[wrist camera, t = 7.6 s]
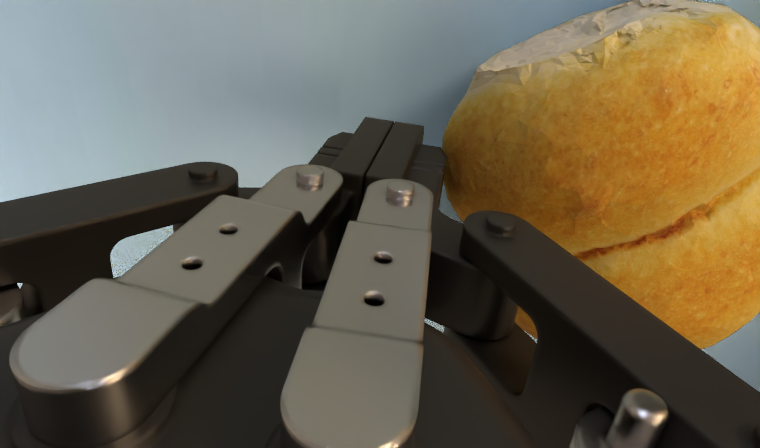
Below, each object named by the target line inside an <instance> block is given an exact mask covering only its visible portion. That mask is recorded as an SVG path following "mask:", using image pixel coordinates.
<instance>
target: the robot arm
mask: <svg viewBox="0 0 760 448" xmlns="http://www.w3.org/2000/svg"><path fill="white" fill-rule="evenodd" d="M423 134H424V126H421V125H415V124H408V123H402V122H395V123H394V121H388V120H382V119H375V118H369V117H365V118H364V120H363V121H362V123H361V124H360V126H359V127H358V128H357V130H356V131H355V133H354V134H352V133H346V132H341V133H339V134H337V135H334V136H332V137H330V138H328V140H327V141H326V142H325V143H324V145H323V147H321V148H320V150H319V151H318V153H317V154H316V155H315V156H314V157H313V158H312V160H311V161H310V162H309V163H308V164H303V165H294V166H290V167H287V168H285V169H282V170H281V171H280V172H279V173H277V174H276V175H275V176H274V177H273V178H272V179H271V180H270V181H269V182H267V183H266V184H265V185H264V186H263V187H262V188H240V187H238V173H237V171H236V170H235V169H234V168H232V167H230V166H228V165H225V164H221V163H215V162H194V163H188V164H183V165H179V166H174V167H169V168H164V169H159V170H154V171H150V172H145V173H140V174H135V175H130V176H126V177H121V178H116V179H111V180H106V181H102V182H97V183H92V184H87V185H82V186H78V187H73V188H68V189H63V190H58V191H53V192H49V193H44V194H39V195H34V196H29V197H25V198H20V199H15V200H10V201H5V202H1V203H0V448H760V393H759V392H758V391H757V390H755V389H754V388H752V387H751V386H750V385H748V384H747V383H746V382H744V381H743V380H742V379H740V378H739V377H738V376H736V375H735V374H733V373H732V372H731V371H729V370H728V369H727V368H725V367H724V366H723V365H721V364H720V363H719V362H717V361H716V360H714V359H713V358H712V357H710V356H709V355H708V354H706V353H705V352H704V351H702V350H701V349H700V348H698V347H697V346H695V345H694V344H693V343H691V342H690V341H689V340H687V339H686V338H685V337H683V336H682V335H681V334H679V333H678V332H676V331H675V330H674V329H672V328H671V327H670V326H668V325H667V324H666V323H664V322H663V321H662V320H660V319H659V318H657V317H656V316H655V315H653V314H652V313H651V312H649V311H648V310H647V309H645V308H644V307H643V306H641V305H640V304H638V303H637V302H636V301H634V300H633V299H632V298H630V297H629V296H628V295H626V294H625V293H624V292H622V291H621V290H619V289H618V288H617V287H615V286H614V285H613V284H611V283H610V282H609V281H607V280H606V279H605V278H603V277H602V276H600V275H599V274H598V273H596V272H595V271H594V270H592V269H591V268H590V267H588V266H587V265H586V264H584V263H583V262H581V261H580V260H579V259H577V258H576V257H575V256H573V255H572V254H571V253H569V252H568V251H567V250H565V249H564V248H562V247H561V246H560V245H558V244H557V243H556V242H554V241H553V240H552V239H550V238H549V237H548V236H546V235H545V234H543V233H542V232H541V231H539V230H538V229H537V228H535V227H534V226H533V225H531V224H530V223H529V222H527V221H525V220H524V219H522V218H520V217H518V216H515V215H512V214H509V213H505V212H500V211H478V212H474V213H472V214H470V215H468V216H467V217H466V218H465V220H464V224H462V223H459V222H457V221H454V220H452V219H450V218H448V217H447V216H445V215H444V214H443V213H441V212H440V211H439V204H440V198H441V192H442V186H443V179H444V173H445V167H446V160H447V156H446V154H445V153H444V151H443V150H442V149H441V147H434V146H428V145H422V142H423ZM170 225H173V231H174V233H173V234H172V235H171V236H169V237H168V238H167V239H166V240H164V241H163V242H162V243H161V244H160V245H158V246H157V247H156V248H155V249H153V250H152V251H151V252H150V253H149V254H147V255H146V256H145V257H144V258H142V259H141V260H140V261H139V262H138V263H136V264H135V265H134V266H133V267H131V268H130V269H129V270H128V271H127V272H125V273H124V274H123V275H122V276H119V277H116V278H113V274H112V268H111V262H110V253H111V251H112V249H113V247H114V246H115V245H116V244H117V243H118V242H119V241H120V240H122V239H124V238H126V237H129V236H133V235H137V234H140V233H144V232H148V231H152V230H155V229H159V228H163V227H166V226H170ZM17 283H23V284H22V286H21V288H20V289H19V287H18V285H17ZM518 307H520V308H521V309H522V310H523V311H524V312H526V313H527V314H528V315H529V316H530V318H531V319H532V321H533V323H534V325H535V327H536V330H537V337H538V340H537V343H536V342H535V341H534V340H533V339H532V338H531V337H530V336H529V335H528V334H527V333H526V332H524V331H523V330H522V329H521V328H520V327H519V326H518V325H517V324H516V323H515V318H516V315H517V311H518ZM425 318H427V319H429V320H431V321H434V322H436V323H438V324H440V325H443V326H445V327H444V333H442V332H440V331H439V330H437V329H436V328H434V327H432V326H430V325H428V324H426V323H424V320H425Z"/></svg>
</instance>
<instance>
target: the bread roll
mask: <svg viewBox="0 0 760 448" xmlns="http://www.w3.org/2000/svg"><path fill="white" fill-rule="evenodd" d="M442 150H443V151H444V153H445V154H446V156H447V160H446V167H445V173H444V179H443V182H444V186H445V190H446V194H447V198H448V199H449V201H450V203H451V205H452V207H453V209H454V210H455V212H456V213H457V215H458V216H459V218H460V219H461V220H462V221H463V222H464V220H465V218H466V217H467V216H468V215H470V214H472V213H474V212H478V211H500V212H505V213H509V214H512V215H515V216H518V217H520V218H522V219H524V220H525V221H527V222H529V223H530V224H531V225H533V226H534V227H535V228H537V229H538V230H539V231H541V232H542V233H543V234H545V235H546V236H548V237H549V238H550V239H552V240H553V241H554V242H556V243H557V244H558V245H560V246H561V247H562V248H564V249H565V250H567V251H568V252H569V253H571V254H572V255H573V256H575V257H576V258H577V259H579V260H580V261H581V262H583V263H584V264H586V265H587V266H588V267H590V268H591V269H592V270H594V271H595V272H596V273H598V274H599V275H600V276H602V277H603V278H605V279H606V280H607V281H609V282H610V283H611V284H613V285H614V286H615V287H617V288H618V289H619V290H621V291H622V292H624V293H625V294H626V295H628V296H629V297H630V298H632V299H633V300H634V301H636V302H637V303H638V304H640V305H641V306H643V307H644V308H645V309H647V310H648V311H649V312H651V313H652V314H653V315H655V316H656V317H657V318H659V319H660V320H662V321H663V322H664V323H666V324H667V325H668V326H670V327H671V328H672V329H674V330H675V331H676V332H678V333H679V334H681V335H682V336H683V337H685V338H686V339H687V340H689V341H690V342H691V343H693V344H694V345H695V346H697V347H698V348H700V349H704V348H706V347H709V346H712V345H714V344H716V343H717V342H719V341H721V340H723V339H725V338H726V337H728V336H730V335H731V334H733V333H734V332H736V331H737V330H738V329H740V328H741V327H742V326H744V325H745V324H747V323H748V322H749V321H751V320H752V319H753V318H754V317H755V316H756V315H757V314H758V313H759V312H760V28H758V27H757V26H756V25H754V24H753V23H752V22H750V21H749V20H747V19H746V18H745V17H743V16H742V15H741V14H739V13H738V12H736V11H734V10H732V9H730V8H729V7H727V6H725V5H720V4H712V3H705V2H699V1H693V0H633V1H629V2H626V3H622V4H619V5H615V6H612V7H609V8H606V9H602V10H599V11H595V12H592V13H588V14H585V15H581V16H579V17H576V18H574V19H571V20H569V21H566V22H564V23H562V24H560V25H559V26H557V27H555V28H552V29H549V30H546V31H543V32H540V33H539V34H537V35H534V36H533V37H531V38H529V39H527V40H526V41H525V42H522V43H518V44H516V45H514V46H512V47H511V48H509V49H505V50H502V51H499V52H498V53H496V54H495V55H493V56H492V57H491V58H489V59H488V60H487V61H486V62H485V63H484V64H481V65H479V66H478V68H477V70H476V72H475V74H474V77H473V79H472V82H471V84H470V86H469V88H468V90H467V93H466V95H465V97H464V98H463V99H462V101H461V102H460V103H459V105H458V106H457V108H456V110H455V111H454V113H453V115H452V116H451V118H450V120H449V122H448V124H447V127H446V129H445V132H444V136H443V144H442ZM515 323H516V324H517V325H518V326H519V327H520V328H521V329H523V330H524V331H526V332H527V333H529V334H530V335H532V336H533V337H534V338H536V339H538V337H537V330H536V327H535V325H534V323H533V321H532V319H531V318H530V316H529V315H528V314H527V313H526V312H524V311H523V310H522V309H521V308H520V307H518V311H517V315H516V318H515Z"/></svg>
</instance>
